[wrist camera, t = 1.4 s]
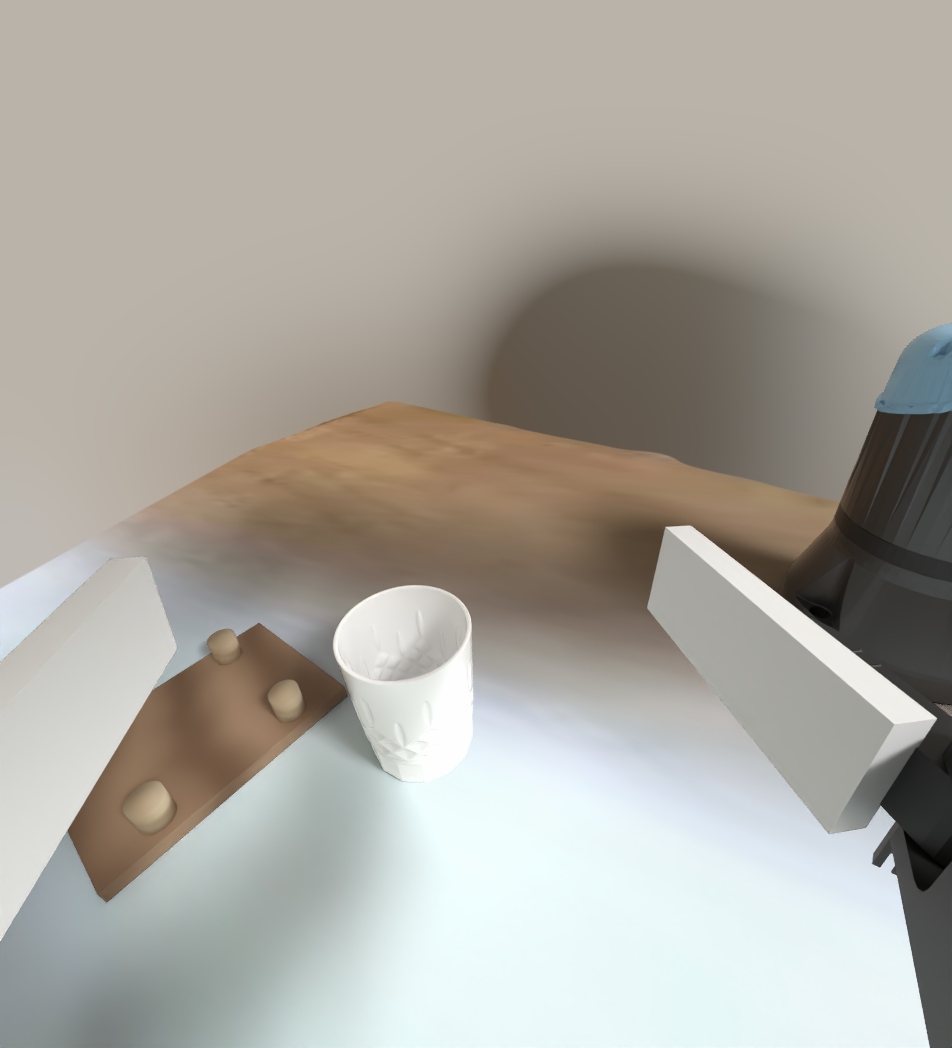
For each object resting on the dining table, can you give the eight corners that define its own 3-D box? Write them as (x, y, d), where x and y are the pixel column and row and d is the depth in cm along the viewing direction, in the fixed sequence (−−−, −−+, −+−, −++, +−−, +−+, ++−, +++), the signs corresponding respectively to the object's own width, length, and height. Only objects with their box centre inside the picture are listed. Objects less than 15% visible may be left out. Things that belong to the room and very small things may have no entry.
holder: (262, 631, 42) (252, 605, 40) (347, 695, 35) (338, 668, 33) (44, 772, 31) (18, 745, 30) (106, 902, 25) (78, 876, 23)
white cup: (340, 758, 31) (302, 651, 26) (411, 673, 36) (392, 572, 31) (439, 817, 27) (418, 707, 22) (501, 713, 33) (495, 606, 28)
